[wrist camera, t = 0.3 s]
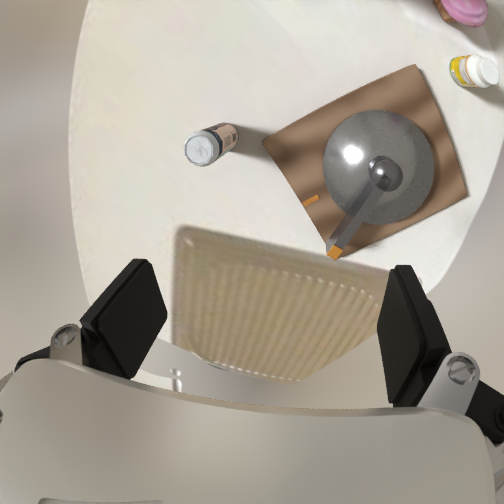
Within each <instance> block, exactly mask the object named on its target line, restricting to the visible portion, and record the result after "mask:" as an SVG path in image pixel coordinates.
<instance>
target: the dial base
mask: <svg viewBox="0 0 504 504" xmlns="http://www.w3.org/2000/svg"><path fill="white" fill-rule="evenodd" d="M365 110H384V111H390V112H394V113H397V114H399V115H401V116H403V117H405V118H407V119H408V120H410V121H411V122H413V123H414V124H415V125H416V126H417V127H418V128H419V129H420V130H421V132H422V133H423V134H424V136H425V137H426V139H427V141H428V143H429V145H430V148H431V151H432V154H433V159H434V177H433V183H432V186H431V189H430V191H429V193H428V195H427V197H426V199H425V200H424V202H423V203H422V204H421V206H420V207H419V208H418V209H417V210H416V211H415V212H413V213H412V214H411V215H409V216H408V217H406V218H404V219H402V220H400V221H397V222H394V223H391V224H384V225H375V224H368V223H364V222H363V223H362V224H361V226H360V227H359V229H358V230H357V231H356V233H355V234H354V235H353V237H352V238H351V239H350V241H349V242H348V243H347V245H346V246H345V247H344V248H343V251H342V252H341V254H340V255H339V256H338V258H337V259H339V258H341V257H343V256H345V255H348V254H350V253H352V252H354V251H356V250H359V249H361V248H363V247H365V246H367V245H369V244H372V243H374V242H376V241H378V240H380V239H382V238H384V237H386V236H389V235H391V234H393V233H395V232H397V231H399V230H401V229H403V228H405V227H407V226H409V225H411V224H413V223H415V222H417V221H419V220H421V219H423V218H425V217H427V216H429V215H431V214H433V213H435V212H437V211H439V210H441V209H443V208H445V207H447V206H449V205H451V204H453V203H455V202H457V201H459V200H461V199H462V198H464V197H466V196H467V193H466V189H465V185H464V182H463V178H462V175H461V171H460V168H459V165H458V161H457V158H456V155H455V152H454V149H453V146H452V144H451V141H450V138H449V135H448V133H447V130H446V128H445V125H444V123H443V120H442V118H441V115H440V113H439V111H438V108H437V106H436V104H435V102H434V100H433V97H432V95H431V93H430V91H429V89H428V87H427V85H426V83H425V81H424V79H423V77H422V75H421V74H420V72H419V70H418V68H417V66H416V65H415V64H413V65H410V66H407V67H405V68H403V69H400V70H398V71H395V72H393V73H391V74H388V75H386V76H384V77H382V78H379V79H377V80H375V81H373V82H371V83H369V84H366V85H364V86H362V87H360V88H358V89H356V90H354V91H352V92H350V93H348V94H346V95H344V96H342V97H340V98H338V99H336V100H334V101H332V102H330V103H328V104H326V105H324V106H322V107H321V108H319V109H317V110H315V111H313V112H311V113H309V114H308V115H306V116H304V117H302V118H300V119H299V120H297V121H295V122H293V123H292V124H290V125H288V126H286V127H285V128H283V129H281V130H280V131H278V132H276V133H274V134H273V135H271V136H269V137H268V138H266V139H264V140H263V141H262V143H263V145H264V146H265V148H266V149H267V151H268V152H269V154H270V155H271V157H272V158H273V160H274V161H275V163H276V164H277V166H278V167H279V169H280V170H281V172H282V173H283V175H284V176H285V178H286V180H287V181H288V183H289V184H290V186H291V187H292V189H293V191H294V192H295V194H296V195H297V197H298V199H299V200H300V202H301V203H302V205H303V207H304V208H305V210H306V212H307V213H308V215H309V217H310V218H311V220H312V222H313V223H314V225H315V227H316V228H317V230H318V232H319V234H320V235H321V237H322V239H323V240H324V242H325V244H326V242H327V240H328V239H329V237H330V236H331V235H332V233H333V232H334V231H335V229H336V228H337V226H338V225H339V224H340V222H341V221H342V219H343V218H344V216H345V215H346V213H345V212H343V211H342V210H341V209H340V208H339V207H338V206H337V204H336V203H335V202H334V200H333V199H332V197H331V196H330V194H329V192H328V189H327V187H326V184H325V180H324V175H323V167H322V161H323V153H324V148H325V145H326V143H327V140H328V138H329V136H330V135H331V133H332V132H333V130H334V129H335V128H336V127H337V126H338V125H339V124H340V123H341V122H342V121H343V120H344V119H346V118H348V117H349V116H351V115H353V114H355V113H358V112H361V111H365ZM337 259H336V260H337ZM334 260H335V259H334Z"/></svg>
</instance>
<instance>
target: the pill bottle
mask: <svg viewBox="0 0 504 504" xmlns="http://www.w3.org/2000/svg"><path fill="white" fill-rule="evenodd" d="M237 141H238V133H237V131H236V129H235V128H234V127H233V126H232V125H230V124H228V123H219V124H217V125H215V126H212V127H209V128H206V129H203V130H200V131H196V132H194V133H192V134H190V135H189V136H188V138H187V139H186V141H185V144H184V153H185V156H186V157H187V159H188V160H189V161H190V162H191V163H192V164H194V165H196V166H203V167H204V166H208V165H210V164H212V163H213V162H215V161H216V160H217V159H219V158H220V157H221V156H223V155H224V154H225V153H227V152H228V151H230V150H231V149H232V148H233V147H234V146H235V145H236V144H237Z"/></svg>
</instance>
